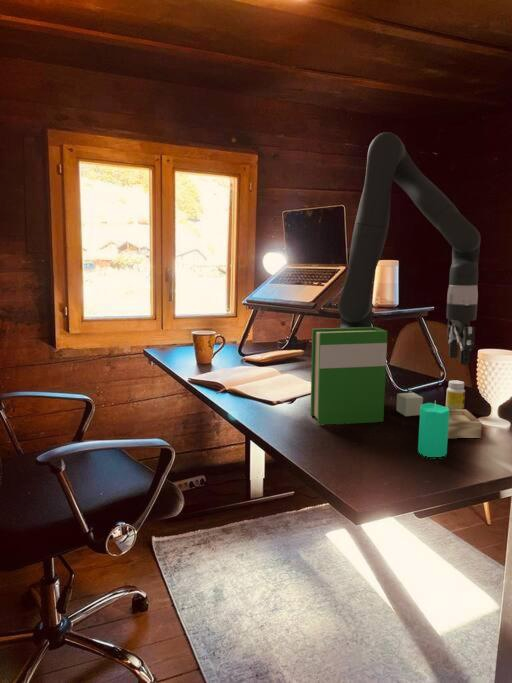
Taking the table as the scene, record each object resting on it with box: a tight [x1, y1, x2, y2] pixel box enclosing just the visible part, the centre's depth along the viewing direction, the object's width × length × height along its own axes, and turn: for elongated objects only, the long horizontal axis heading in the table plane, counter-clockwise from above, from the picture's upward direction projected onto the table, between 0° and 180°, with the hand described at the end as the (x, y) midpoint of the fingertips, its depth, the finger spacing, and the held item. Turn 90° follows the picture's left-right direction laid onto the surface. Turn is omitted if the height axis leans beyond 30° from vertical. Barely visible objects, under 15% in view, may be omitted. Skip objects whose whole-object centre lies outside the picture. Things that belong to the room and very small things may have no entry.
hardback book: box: [310, 326, 388, 425], centre depth 129 cm, size 18×7×24 cm, turn 99°
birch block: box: [448, 409, 483, 439], centre depth 121 cm, size 10×10×4 cm
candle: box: [417, 400, 450, 458], centre depth 107 cm, size 6×6×12 cm
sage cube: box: [396, 392, 424, 417], centre depth 135 cm, size 5×5×5 cm
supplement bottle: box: [445, 379, 466, 410], centre depth 136 cm, size 5×5×8 cm
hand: (458, 360), depth 134 cm, fingers open, 8 cm apart
